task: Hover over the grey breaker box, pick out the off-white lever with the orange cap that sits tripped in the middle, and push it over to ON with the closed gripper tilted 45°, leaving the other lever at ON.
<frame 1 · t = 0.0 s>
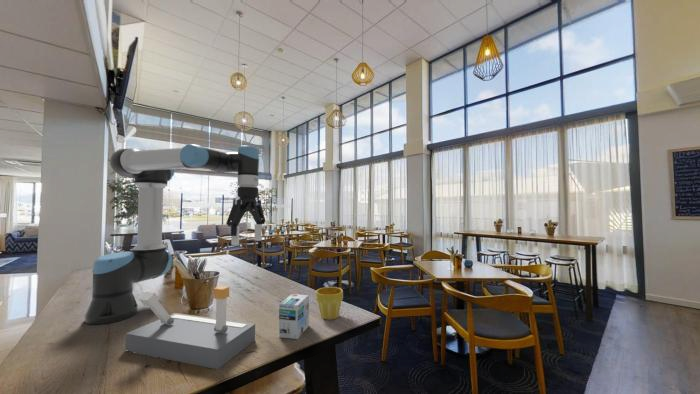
hand: (247, 242, 104), 28 cm above the table, tool pointing down, fingers open, 13 cm apart
breaker tripped: (221, 309, 80), point 12 cm above the table, hinge at 0.0°
plant pot: (329, 316, 105), on the table
breaker box: (192, 345, 82), on the table
light bulb box: (294, 332, 92), on the table
breaker on: (158, 309, 83), point 11 cm above the table, hinge at 35.0°
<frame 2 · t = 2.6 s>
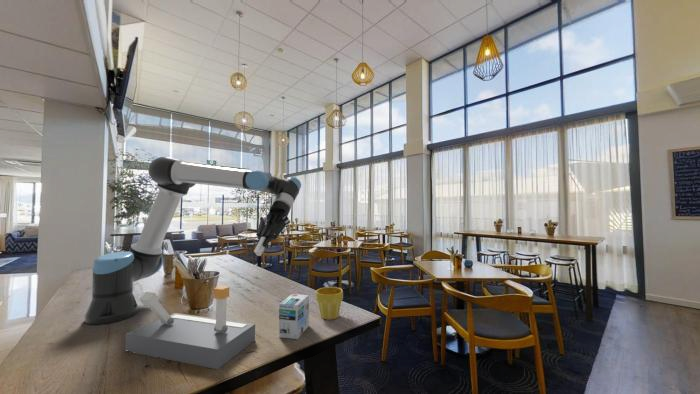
hand: (257, 253, 98), 25 cm above the table, tool tilted 45°, fingers closed
nothing on the table moved.
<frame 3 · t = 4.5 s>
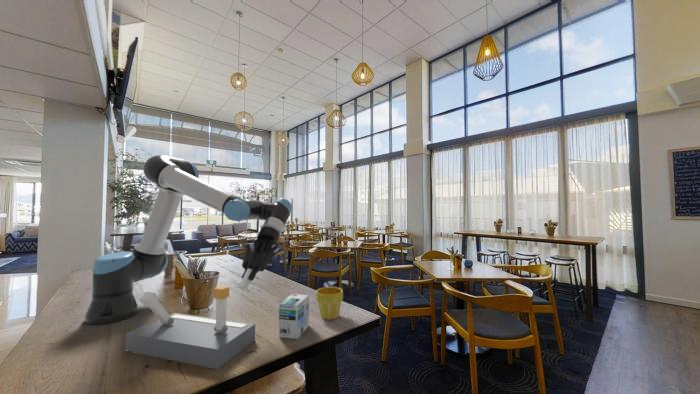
hand: (242, 288, 88), 15 cm above the table, tool tilted 45°, fingers closed
nothing on the table moved.
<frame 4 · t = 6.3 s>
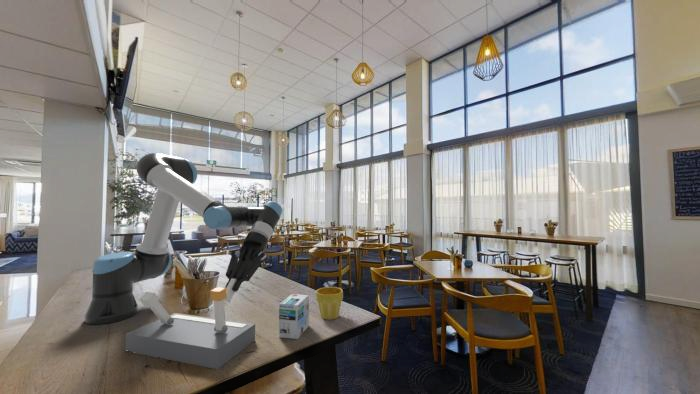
hand: (225, 300, 81), 14 cm above the table, tool tilted 45°, fingers closed
breaker tripped: (219, 310, 80), point 12 cm above the table, hinge at 6.8°, touching gripper
everything else where it was.
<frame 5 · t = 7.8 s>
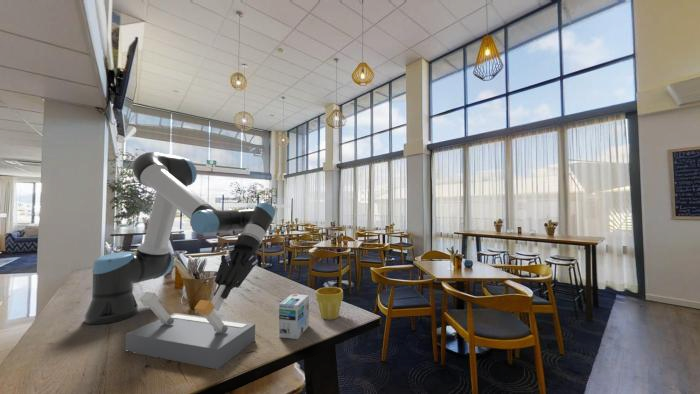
hand: (213, 308, 77), 13 cm above the table, tool tilted 45°, fingers closed
breaker tripped: (212, 318, 77), point 11 cm above the table, hinge at 37.6°, touching gripper
everything else where it was.
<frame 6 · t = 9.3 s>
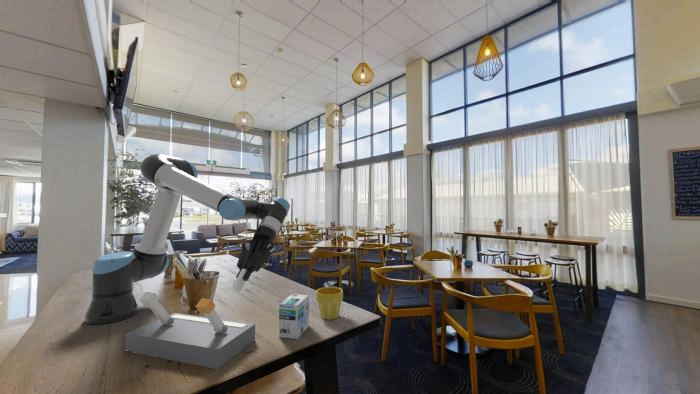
hand: (236, 288, 87), 16 cm above the table, tool tilted 45°, fingers closed
breaker tripped: (213, 317, 77), point 11 cm above the table, hinge at 34.8°
everything else where it was.
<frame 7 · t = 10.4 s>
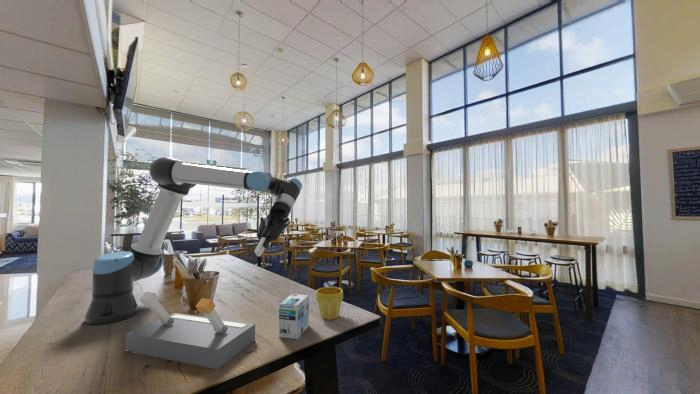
hand: (257, 254, 97), 25 cm above the table, tool tilted 45°, fingers closed
nothing on the table moved.
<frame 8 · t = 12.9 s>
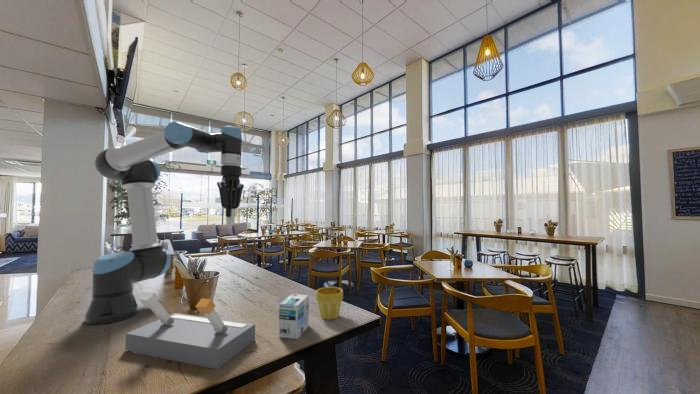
hand: (230, 225, 109), 34 cm above the table, tool pointing down, fingers closed
nothing on the table moved.
at the end: breaker tripped at +35° (first picture: +0°); breaker on at +35° (first picture: +35°) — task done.
